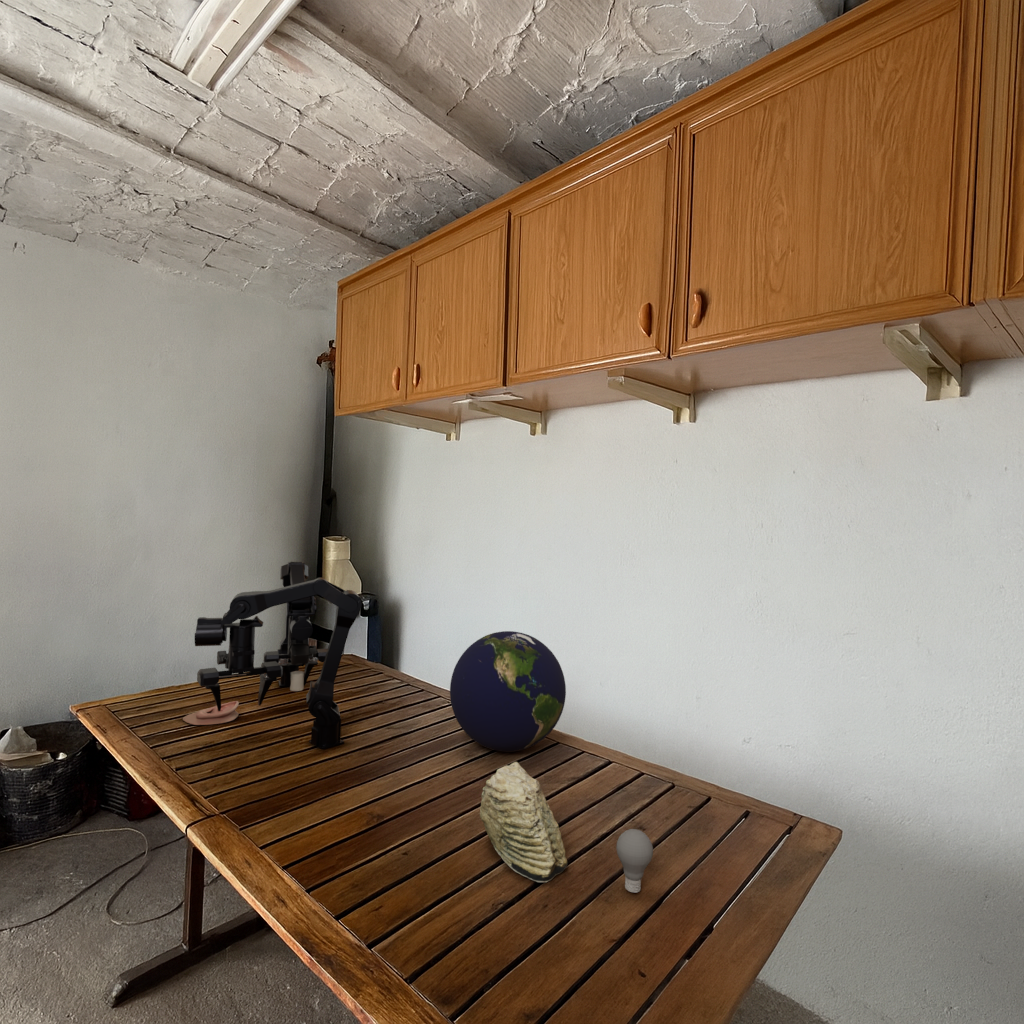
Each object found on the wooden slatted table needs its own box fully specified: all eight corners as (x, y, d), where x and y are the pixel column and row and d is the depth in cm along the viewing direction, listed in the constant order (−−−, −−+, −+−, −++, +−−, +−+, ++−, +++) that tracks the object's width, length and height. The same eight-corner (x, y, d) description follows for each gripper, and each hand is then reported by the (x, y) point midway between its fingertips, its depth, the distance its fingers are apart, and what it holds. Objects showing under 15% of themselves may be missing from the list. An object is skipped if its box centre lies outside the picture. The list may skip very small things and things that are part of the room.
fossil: (501, 827, 124) (504, 751, 124) (575, 868, 111) (578, 784, 111) (467, 843, 118) (470, 763, 118) (541, 889, 105) (545, 799, 105)
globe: (494, 719, 185) (499, 617, 185) (584, 745, 168) (589, 633, 167) (423, 749, 161) (428, 631, 160) (519, 784, 143) (525, 652, 143)
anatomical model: (175, 707, 171) (204, 695, 183) (174, 722, 172) (203, 709, 183) (218, 713, 169) (245, 700, 180) (218, 728, 169) (244, 714, 180)
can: (291, 687, 188) (291, 670, 188) (304, 687, 188) (304, 670, 188) (289, 691, 184) (289, 674, 184) (302, 691, 185) (303, 674, 185)
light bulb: (610, 879, 108) (613, 822, 108) (644, 879, 109) (647, 822, 109) (619, 902, 102) (622, 840, 102) (655, 901, 103) (658, 840, 103)
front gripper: (273, 634, 167) (270, 693, 167) (194, 641, 156) (192, 704, 157) (284, 643, 158) (282, 706, 158) (201, 651, 147) (199, 717, 148)
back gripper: (265, 640, 175) (263, 696, 175) (335, 637, 182) (333, 691, 183) (264, 632, 185) (262, 685, 185) (330, 629, 193) (328, 680, 193)
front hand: (239, 707), depth 155 cm, fingers open, 9 cm apart
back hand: (296, 685), depth 186 cm, fingers closed on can, 4 cm apart
